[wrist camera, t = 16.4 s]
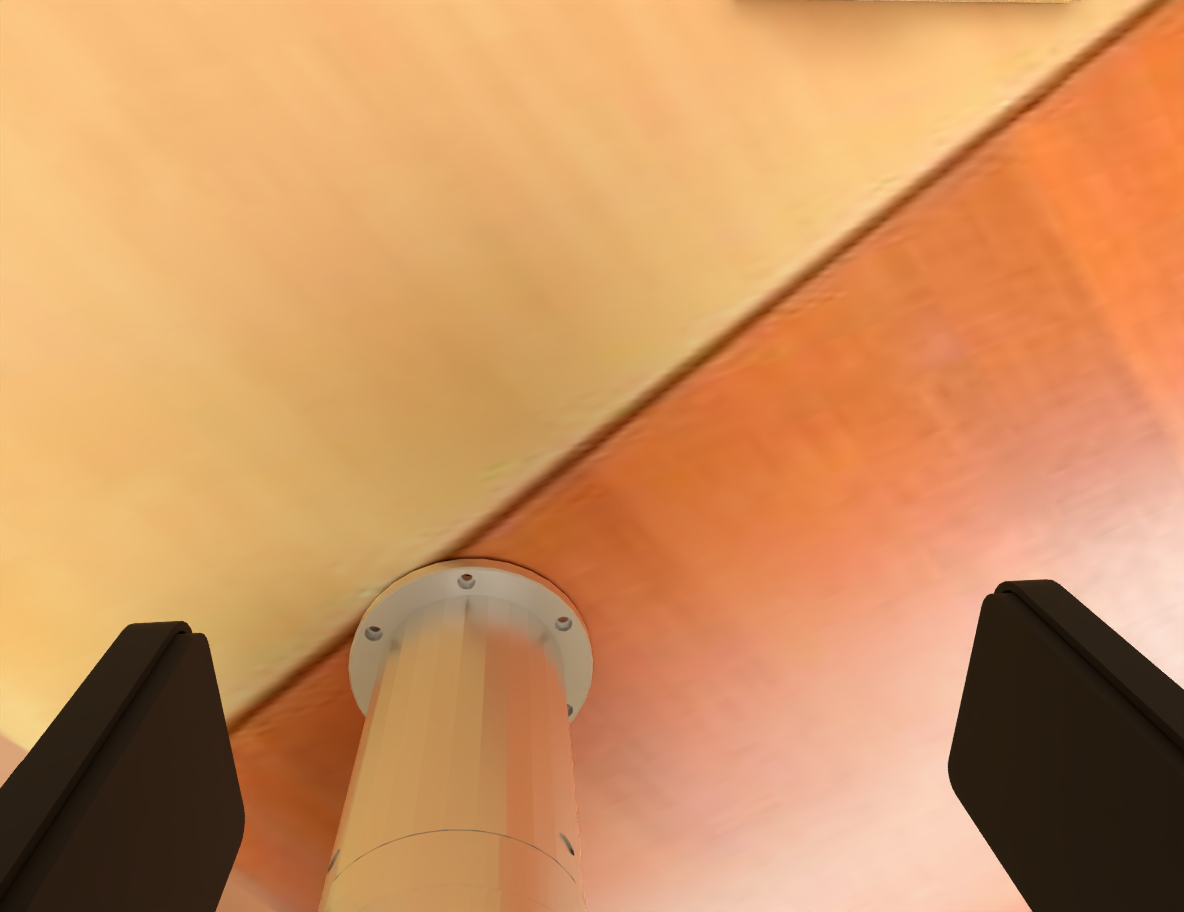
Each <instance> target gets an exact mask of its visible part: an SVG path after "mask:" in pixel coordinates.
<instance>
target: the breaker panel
mask: <svg viewBox="0 0 1184 912" xmlns="http://www.w3.org/2000/svg"><path fill="white" fill-rule="evenodd" d="M856 1H933V2H1010V3H1071V2H1075V1H1080V0H856Z"/></svg>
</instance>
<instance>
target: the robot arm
mask: <svg viewBox="0 0 1184 912" xmlns="http://www.w3.org/2000/svg"><path fill="white" fill-rule="evenodd" d="M464 574H469V575H470V576H465V575H464ZM562 617H563V618H562ZM348 672H349V679H350V686H351V690H352V693H353V695H354V698H355V701H356V703H357V706H358V708H359V709H360V711H361V712H362V714H363V715H364V717H365V718H366V719H365V723H364V727H363V731H362V735H361V739H360V743H359V747H358V751H357V755H356V759H355V763H354V767H353V771H352V775H351V779H350V783H349V787H348V791H347V795H346V799H345V804H344V808H343V812H342V816H341V820H340V824H339V828H338V832H337V836H336V840H335V844H334V848H333V852H332V856H331V860H330V864H329V868H328V872H327V876H326V880H325V884H324V888H323V892H322V896H321V900H320V904H319V908H318V912H586V903H585V892H584V881H583V870H582V859H581V848H580V837H579V827H578V816H577V805H576V794H575V783H574V772H573V761H572V750H571V739H570V728H569V725H570V723H571V722H572V721H573V720H574V719H575V718H576V716H577V714H578V713H579V711H580V709H581V708H582V706H583V705H584V703H585V701H586V698H587V695H588V692H589V689H590V686H591V682H592V673H593V657H592V648H591V643H590V639H589V634H588V630H587V627H586V625H585V623H584V621H583V619H582V617H581V615H580V613H579V611H578V610H577V609H576V607H575V606H574V605H573V603H572V602H571V601H570V600H569V598H568V597H567V596H566V595H565V594H564V593H563V592H562V591H560V590H559V589H558V588H557V587H556V586H554V585H553V584H552V583H551V582H550V581H548V580H546V579H544V578H543V577H541V576H539V575H537V574H536V573H534V572H532V571H530V570H527V569H524V568H522V567H519V566H516V565H513V564H510V563H506V562H500V561H494V560H488V559H457V560H451V561H445V562H439V563H435V564H432V565H429V566H427V567H424V568H421V569H418V570H415V571H413V572H411V573H410V574H408V575H406V576H404V577H402V578H401V579H399V580H397V581H395V582H394V583H393V584H391V585H390V586H389V587H388V588H387V589H386V590H384V591H383V592H382V593H381V594H380V595H379V596H377V598H376V599H375V600H374V601H373V603H372V604H371V605H370V607H369V608H368V609H367V610H366V612H365V613H364V615H363V617H362V619H361V621H360V623H359V625H358V627H357V630H356V632H355V636H354V639H353V643H352V646H351V649H350V656H349V667H348ZM948 774H949V779H950V783H951V785H952V788H953V790H954V792H955V794H956V796H957V797H958V799H959V800H960V802H961V803H962V805H963V806H964V808H965V809H966V811H967V813H968V814H969V816H970V817H971V819H972V820H973V822H974V823H975V825H976V826H977V828H978V829H979V831H980V832H981V834H982V835H983V837H984V838H985V840H986V841H987V843H988V845H989V846H990V848H991V849H992V851H993V852H994V854H995V855H996V857H997V858H998V860H999V861H1000V863H1001V864H1002V866H1003V867H1004V869H1005V870H1006V872H1007V874H1008V875H1009V877H1010V878H1011V880H1012V881H1013V883H1014V884H1015V886H1016V887H1017V889H1018V890H1019V892H1020V893H1021V895H1022V896H1023V898H1024V899H1025V901H1026V902H1027V904H1028V906H1029V907H1030V909H1031V910H1032V912H1184V689H1182V688H1181V687H1180V686H1179V685H1178V684H1176V683H1175V682H1174V681H1173V680H1172V679H1171V678H1169V677H1168V676H1167V675H1166V674H1165V673H1163V672H1162V671H1161V670H1160V669H1159V668H1158V667H1156V666H1155V665H1154V664H1153V663H1152V662H1151V661H1149V660H1148V659H1147V658H1146V657H1145V656H1143V655H1142V654H1141V653H1140V652H1139V651H1138V650H1136V649H1135V648H1134V647H1133V646H1132V645H1131V644H1129V643H1128V642H1127V641H1126V640H1125V639H1123V638H1122V637H1121V636H1120V635H1119V634H1118V633H1116V632H1115V631H1114V630H1113V629H1112V628H1111V627H1109V626H1108V625H1107V624H1106V623H1105V622H1103V621H1102V620H1101V619H1100V618H1099V617H1098V616H1096V615H1095V614H1094V613H1093V612H1092V611H1090V610H1089V609H1088V608H1087V607H1086V606H1085V605H1083V604H1082V603H1081V602H1080V601H1079V600H1078V599H1076V598H1075V597H1074V596H1073V595H1072V594H1070V593H1069V592H1068V591H1067V590H1066V589H1065V588H1063V587H1062V586H1061V585H1060V584H1058V583H1057V582H1055V581H1053V580H1047V579H1044V580H1023V581H1005V582H1003V583H1001V584H999V585H998V587H997V588H996V589H995V592H994V594H989V595H987V596H986V598H985V599H984V601H983V603H982V607H981V611H980V616H979V621H978V625H977V630H976V635H975V639H974V644H973V648H972V653H971V658H970V662H969V667H968V672H967V676H966V681H965V686H964V690H963V695H962V700H961V704H960V709H959V714H958V718H957V723H956V727H955V732H954V737H953V741H952V746H951V751H950V755H949V760H948ZM244 824H245V812H244V806H243V801H242V796H241V792H240V787H239V782H238V778H237V773H236V768H235V764H234V759H233V754H232V750H231V745H230V741H229V736H228V731H227V727H226V722H225V717H224V713H223V708H222V703H221V699H220V694H219V689H218V685H217V680H216V675H215V671H214V666H213V661H212V657H211V652H210V648H209V644H208V640H207V638H206V636H205V635H204V634H202V633H192V630H191V628H190V627H189V625H188V624H187V623H186V622H184V621H173V622H153V623H134V624H130V625H128V626H127V627H126V628H125V629H124V630H123V631H122V632H121V633H120V635H119V636H118V637H117V639H116V640H115V641H114V642H113V644H112V645H111V646H110V648H109V649H108V650H107V652H106V653H105V654H104V655H103V657H102V658H101V659H100V661H99V662H98V663H97V665H96V666H95V667H94V669H93V670H92V671H91V672H90V674H89V675H88V676H87V678H86V679H85V680H84V682H83V683H82V684H81V685H80V687H79V688H78V689H77V691H76V692H75V693H74V695H73V696H72V697H71V698H70V700H69V701H68V702H67V704H66V705H65V706H64V708H63V709H62V710H61V712H60V713H59V714H58V715H57V717H56V718H55V719H54V721H53V722H52V723H51V725H50V726H49V727H48V728H47V730H46V731H45V732H44V734H43V735H42V736H41V738H40V739H39V740H38V741H37V743H36V744H35V745H34V747H33V748H32V749H31V751H30V752H29V753H28V755H27V756H26V757H25V759H24V760H23V761H22V762H21V763H20V764H19V765H18V766H17V768H16V769H15V770H14V772H13V773H12V774H11V775H10V777H9V778H8V779H7V781H6V782H5V783H4V784H3V786H2V787H1V788H0V912H215V911H216V908H217V906H218V903H219V900H220V898H221V895H222V892H223V890H224V887H225V885H226V882H227V879H228V877H229V874H230V871H231V869H232V866H233V863H234V861H235V858H236V855H237V853H238V850H239V848H240V845H241V841H242V838H243V833H244Z"/></svg>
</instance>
